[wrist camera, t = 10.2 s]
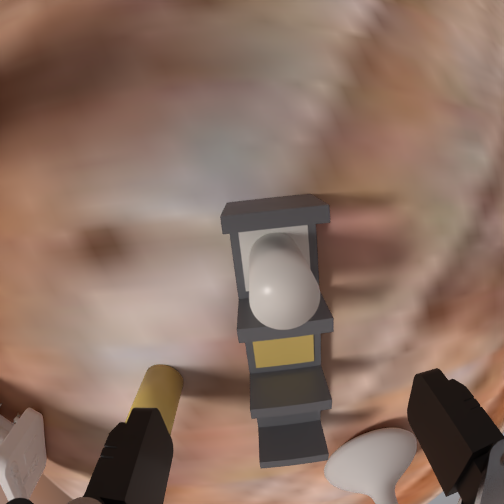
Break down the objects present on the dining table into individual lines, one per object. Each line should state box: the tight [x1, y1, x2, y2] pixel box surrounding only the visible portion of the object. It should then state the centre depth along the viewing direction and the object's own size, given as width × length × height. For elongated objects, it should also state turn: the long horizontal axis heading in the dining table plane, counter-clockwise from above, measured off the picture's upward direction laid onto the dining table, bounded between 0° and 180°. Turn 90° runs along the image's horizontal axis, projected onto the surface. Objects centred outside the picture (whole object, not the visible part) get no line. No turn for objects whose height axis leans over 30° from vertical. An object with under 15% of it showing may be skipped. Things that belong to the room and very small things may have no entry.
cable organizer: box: [0, 404, 47, 501], centre depth 25 cm, size 15×11×12 cm
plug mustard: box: [125, 365, 183, 435], centre depth 24 cm, size 4×4×7 cm
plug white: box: [249, 232, 320, 330], centre depth 19 cm, size 4×4×7 cm
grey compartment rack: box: [220, 194, 333, 468], centre depth 23 cm, size 22×6×6 cm, turn 7°
